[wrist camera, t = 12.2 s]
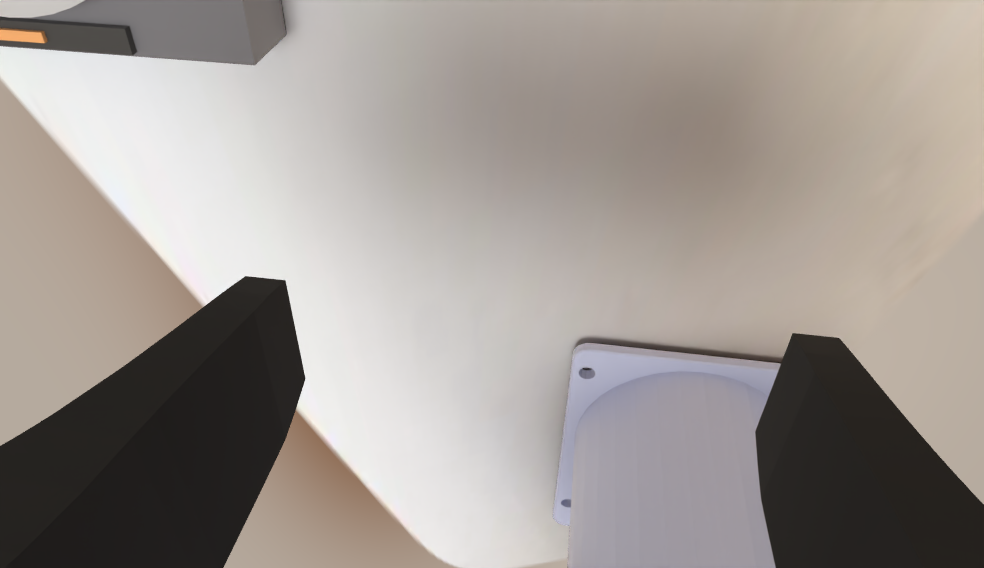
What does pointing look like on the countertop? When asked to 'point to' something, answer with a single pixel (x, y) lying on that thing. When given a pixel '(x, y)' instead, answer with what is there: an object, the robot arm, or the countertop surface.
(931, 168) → the countertop surface
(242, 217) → the countertop surface
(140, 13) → the kitchen scale
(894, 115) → the countertop surface
